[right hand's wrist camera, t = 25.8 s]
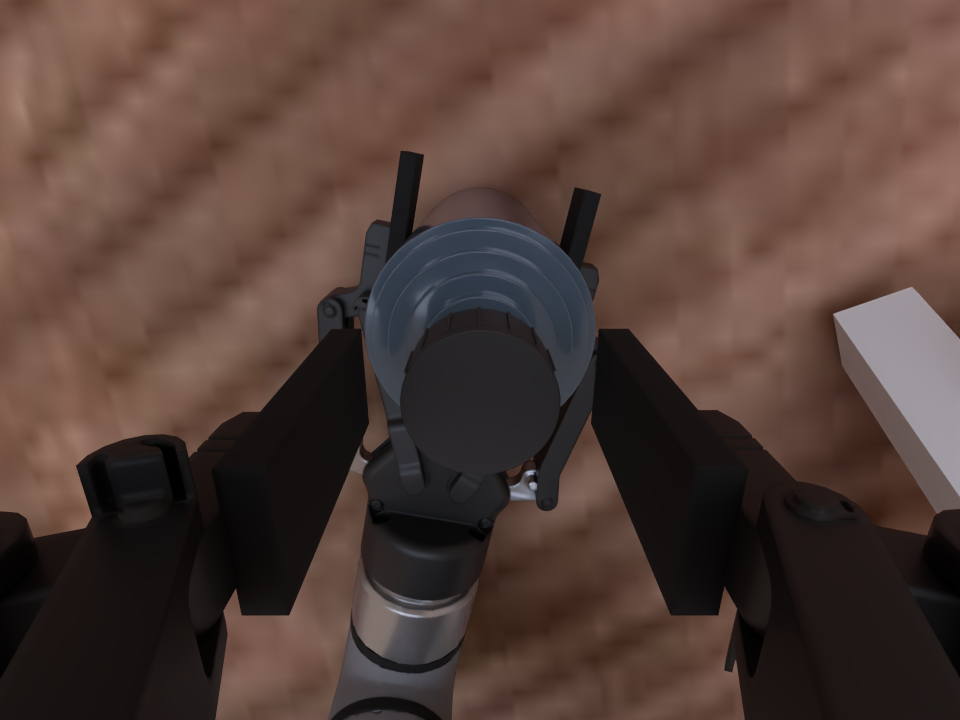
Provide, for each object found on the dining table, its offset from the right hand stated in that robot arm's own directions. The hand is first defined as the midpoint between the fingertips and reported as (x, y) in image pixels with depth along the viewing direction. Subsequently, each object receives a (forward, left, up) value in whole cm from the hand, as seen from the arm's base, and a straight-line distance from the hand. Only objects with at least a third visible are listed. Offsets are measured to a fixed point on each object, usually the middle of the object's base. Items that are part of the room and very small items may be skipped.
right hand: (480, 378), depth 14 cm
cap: (0, 0, +1) cm, 1 cm away
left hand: (0, +5, -13) cm, 14 cm away
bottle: (0, 0, -20) cm, 20 cm away
